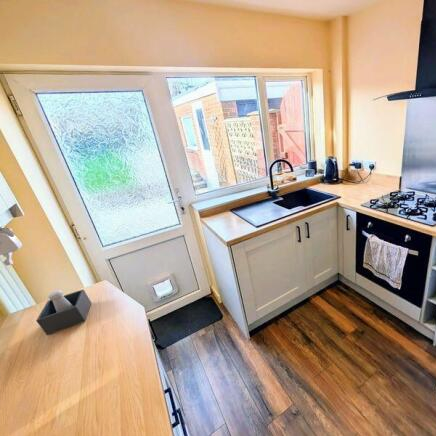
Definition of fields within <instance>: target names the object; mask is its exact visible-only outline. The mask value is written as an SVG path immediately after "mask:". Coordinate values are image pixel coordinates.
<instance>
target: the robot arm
mask: <svg viewBox="0 0 436 436" xmlns="http://www.w3.org/2000/svg"><path fill="white" fill-rule="evenodd" d="M22 246H23V244H22V242H21V241H20V239H19V238H18V237H17V236H16V235H15V232H14V231H13V230H12V228H9V227H7V226H6V227H5V226H0V256H3V257H4V258H5V257H6V258H5V260H4V261H2V263H3V264H4V265H5V266H11V265H13V264H14V261H13V259H12V257H13V253H14V252H18V251H19V250H20V249H21V248H22Z"/></svg>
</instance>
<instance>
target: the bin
mask: <svg viewBox="0 0 436 436" xmlns="http://www.w3.org/2000/svg"><path fill="white" fill-rule="evenodd" d="M62 296H63V297H64V298H66V299H67V300H68V301H69V302H70V303H71V304H72V305H73V306H74V307H72V308H69V309H66V310H63V311H60V312H56V309H55V306H54V303H53V300H50V299H49V300H47V301H46V303H45V304H44V306H43V308H42V310H41V311H40V313H39V315H38V316H37V318H36V322H37V324H38V326H39V327H40V328H41V329H42V331H43V332H44V334H45V335H46V336H49V335H52V334H55V333H57V332H60V331H63V330H65V329H69V328H71V327H75V326H77V325H79V324H82V323H85V322H86V320H87V317H88V314H89V313H90V312H89V311H90V308H91V306H92V301H91V299H90V297H89V296H88V293H87V292H86V291H85V289H80V290H78V291H74V292H70V293H67V294H65V295H64V294H63V295H62Z"/></svg>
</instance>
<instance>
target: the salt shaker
mask: <svg viewBox="0 0 436 436" xmlns="http://www.w3.org/2000/svg"><path fill="white" fill-rule="evenodd" d="M63 296H64V293H63V291H62V290H61V289H56V290H52V291H51V292H50V293H49V294H48V296H47V298H48V299H49V300H53V303H54V306H55V309H56V312H60V311H63V310H66V309H69V308H72V307H74V306H73V305H72V304H71V303H70V302H69V301H68V300H67V299H66V298H64V297H63Z"/></svg>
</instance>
